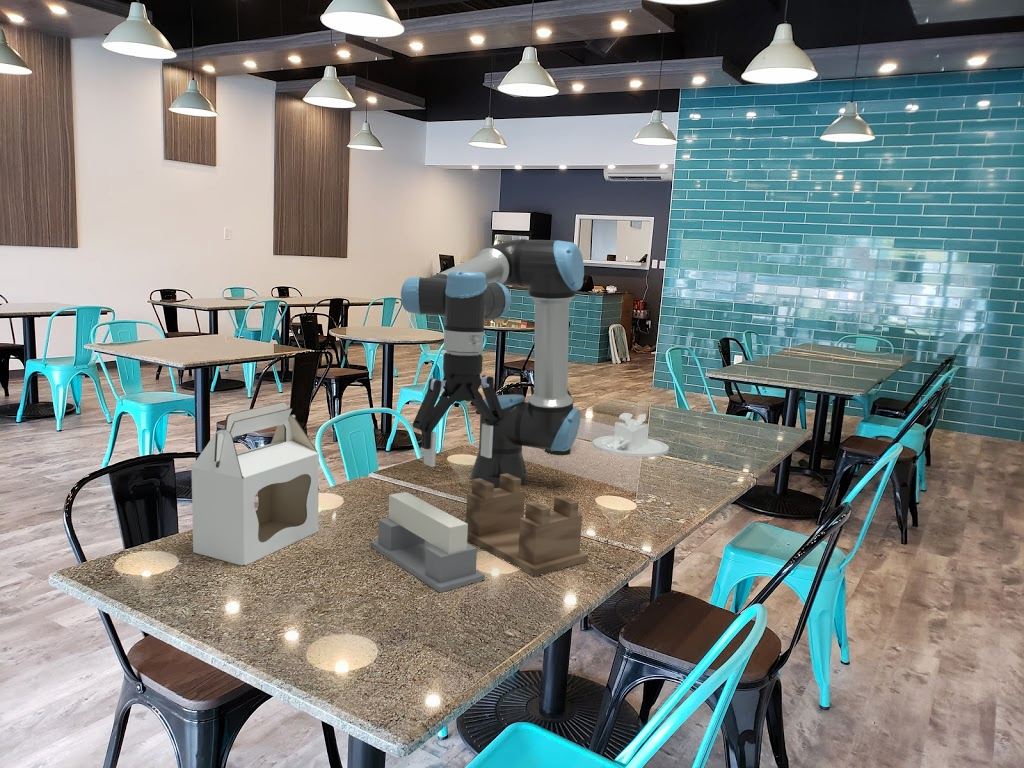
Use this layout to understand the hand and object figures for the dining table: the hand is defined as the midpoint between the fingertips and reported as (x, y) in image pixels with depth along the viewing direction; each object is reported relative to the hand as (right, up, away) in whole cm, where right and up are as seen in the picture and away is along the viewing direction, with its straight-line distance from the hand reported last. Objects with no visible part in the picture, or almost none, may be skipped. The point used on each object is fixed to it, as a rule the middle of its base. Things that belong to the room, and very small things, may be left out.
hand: (458, 460), depth 149 cm
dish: (+49, -6, +102) cm, 114 cm away
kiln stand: (-7, -20, +1) cm, 21 cm away
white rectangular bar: (-6, -14, 0) cm, 15 cm away
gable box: (-41, -18, +7) cm, 46 cm away
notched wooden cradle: (+12, -19, +11) cm, 25 cm away
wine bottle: (+25, -7, +92) cm, 95 cm away
